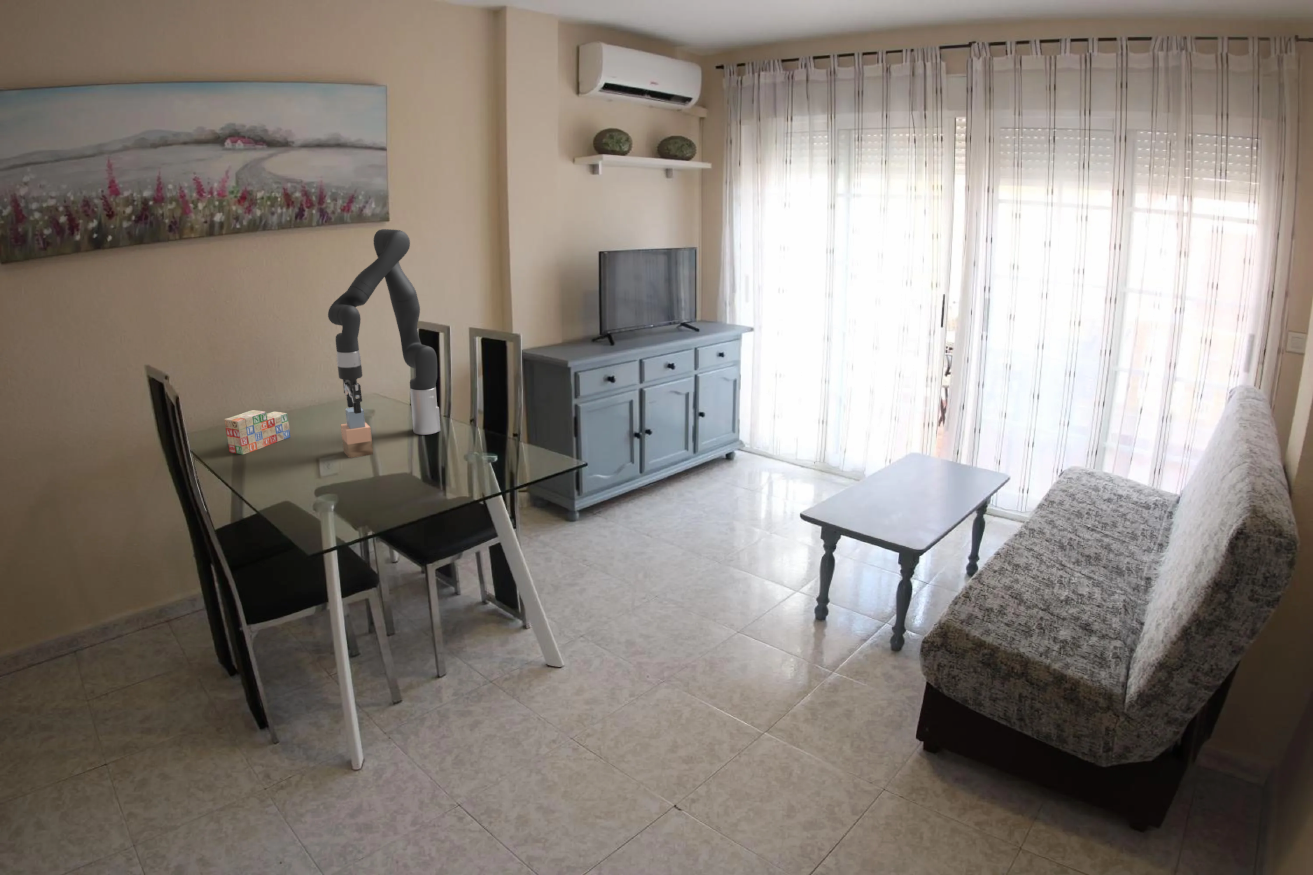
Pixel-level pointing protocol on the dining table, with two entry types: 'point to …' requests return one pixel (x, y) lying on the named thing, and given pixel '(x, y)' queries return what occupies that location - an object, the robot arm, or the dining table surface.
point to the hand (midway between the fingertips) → (354, 410)
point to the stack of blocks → (255, 430)
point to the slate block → (355, 418)
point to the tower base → (358, 449)
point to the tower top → (356, 434)
